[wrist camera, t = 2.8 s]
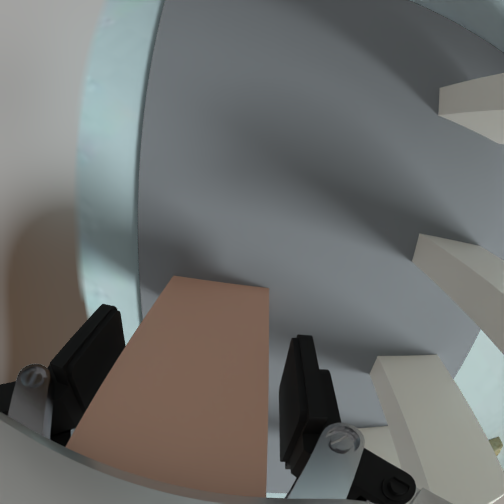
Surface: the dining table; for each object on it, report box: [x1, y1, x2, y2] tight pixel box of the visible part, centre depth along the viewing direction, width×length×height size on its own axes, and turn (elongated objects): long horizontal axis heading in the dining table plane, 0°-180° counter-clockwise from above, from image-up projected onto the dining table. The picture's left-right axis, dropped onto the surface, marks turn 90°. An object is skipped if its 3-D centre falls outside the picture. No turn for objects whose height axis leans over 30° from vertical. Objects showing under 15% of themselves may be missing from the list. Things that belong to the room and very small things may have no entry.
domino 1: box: [66, 276, 269, 498], centre depth 9 cm, size 2×5×12 cm, turn 84°
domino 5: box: [370, 355, 504, 504], centre depth 11 cm, size 2×5×12 cm, turn 83°
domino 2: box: [357, 426, 402, 470], centre depth 13 cm, size 2×5×12 cm, turn 83°
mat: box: [138, 0, 504, 493], centre depth 16 cm, size 23×44×1 cm, turn 174°
